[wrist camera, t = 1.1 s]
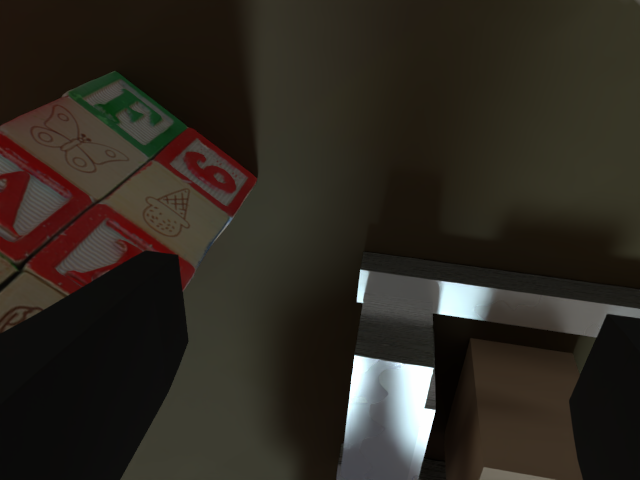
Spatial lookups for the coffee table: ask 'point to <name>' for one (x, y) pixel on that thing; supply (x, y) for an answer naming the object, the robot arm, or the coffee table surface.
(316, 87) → the coffee table surface
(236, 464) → the coffee table surface
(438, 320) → the coffee table surface
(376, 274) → the pale grey flat frame
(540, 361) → the block
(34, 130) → the stack of blocks
